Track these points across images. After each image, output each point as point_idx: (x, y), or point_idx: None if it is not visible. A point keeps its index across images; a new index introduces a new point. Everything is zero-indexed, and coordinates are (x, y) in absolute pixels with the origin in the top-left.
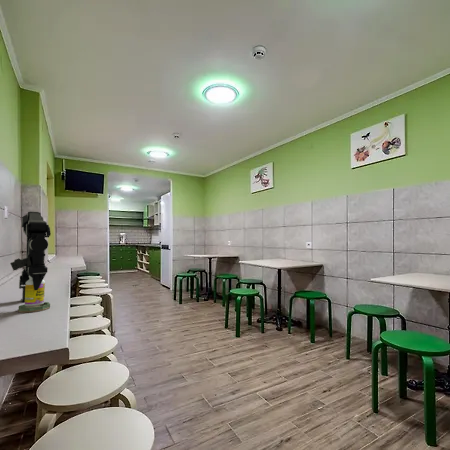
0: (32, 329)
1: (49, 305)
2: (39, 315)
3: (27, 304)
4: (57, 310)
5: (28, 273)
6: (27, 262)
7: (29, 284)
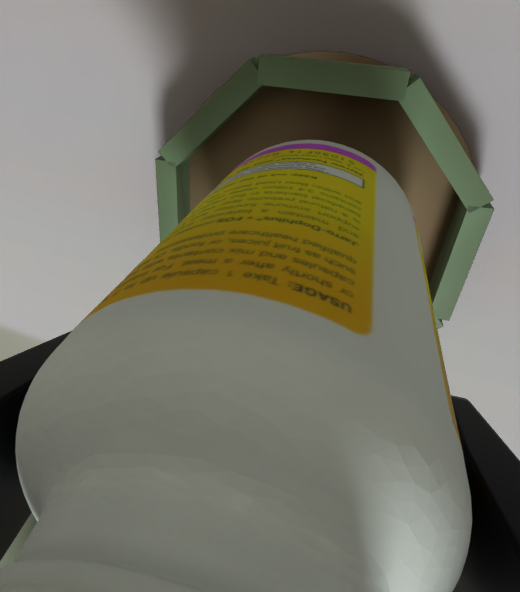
0: None
1: None
2: (4, 184)
3: (243, 162)
4: None
5: None
6: None
7: (69, 336)
